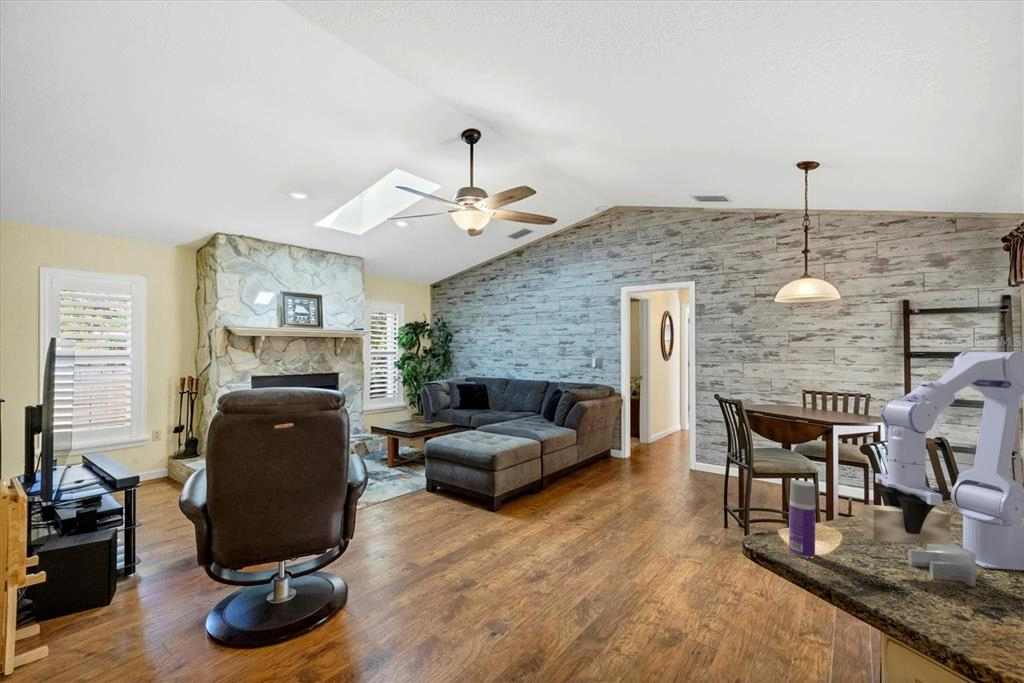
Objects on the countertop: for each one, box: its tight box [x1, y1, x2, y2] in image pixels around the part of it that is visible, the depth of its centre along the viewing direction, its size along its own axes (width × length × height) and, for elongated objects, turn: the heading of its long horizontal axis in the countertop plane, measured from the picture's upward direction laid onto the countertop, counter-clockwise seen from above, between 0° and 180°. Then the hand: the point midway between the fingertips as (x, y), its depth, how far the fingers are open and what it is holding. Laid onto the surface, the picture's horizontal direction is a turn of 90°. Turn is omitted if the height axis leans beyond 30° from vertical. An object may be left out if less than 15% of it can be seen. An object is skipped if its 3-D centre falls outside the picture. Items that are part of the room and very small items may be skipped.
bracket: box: [907, 541, 977, 587], centre depth 90 cm, size 6×10×6 cm, turn 175°
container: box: [788, 479, 817, 559], centre depth 97 cm, size 5×5×15 cm
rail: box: [862, 504, 951, 545], centre depth 91 cm, size 14×3×6 cm, turn 85°
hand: (905, 529), depth 90 cm, fingers closed on rail, 3 cm apart
